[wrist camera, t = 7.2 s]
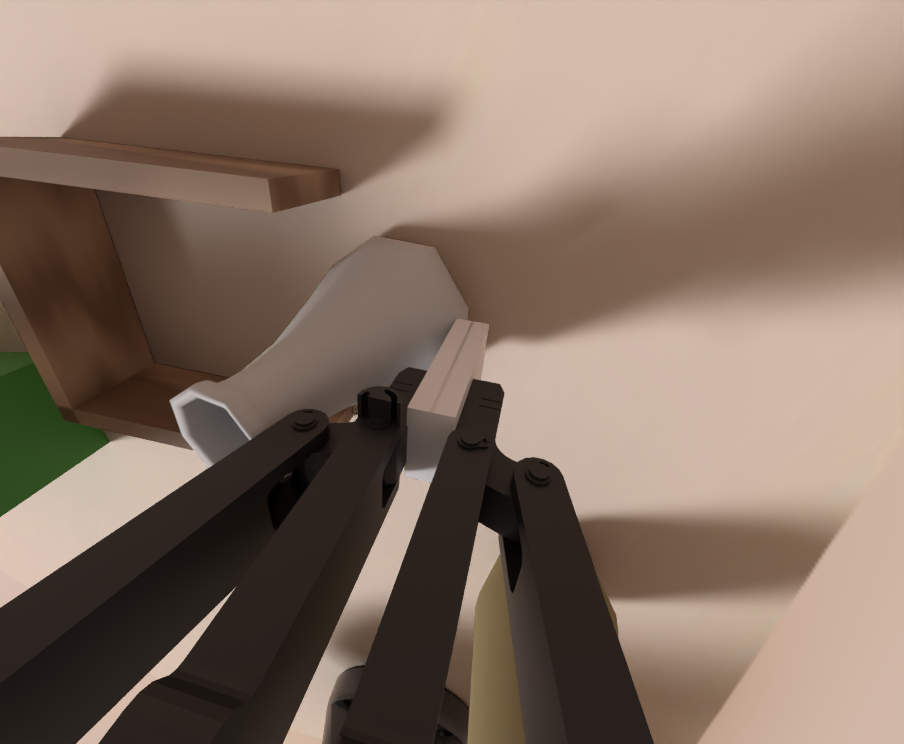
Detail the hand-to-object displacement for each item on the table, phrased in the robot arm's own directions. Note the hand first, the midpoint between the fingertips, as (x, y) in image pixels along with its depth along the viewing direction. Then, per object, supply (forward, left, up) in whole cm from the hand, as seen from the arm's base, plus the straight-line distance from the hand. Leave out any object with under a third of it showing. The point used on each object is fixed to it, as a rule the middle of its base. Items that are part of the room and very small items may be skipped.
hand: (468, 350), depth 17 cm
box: (0, +14, -2) cm, 14 cm away
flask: (0, +4, -2) cm, 4 cm away
